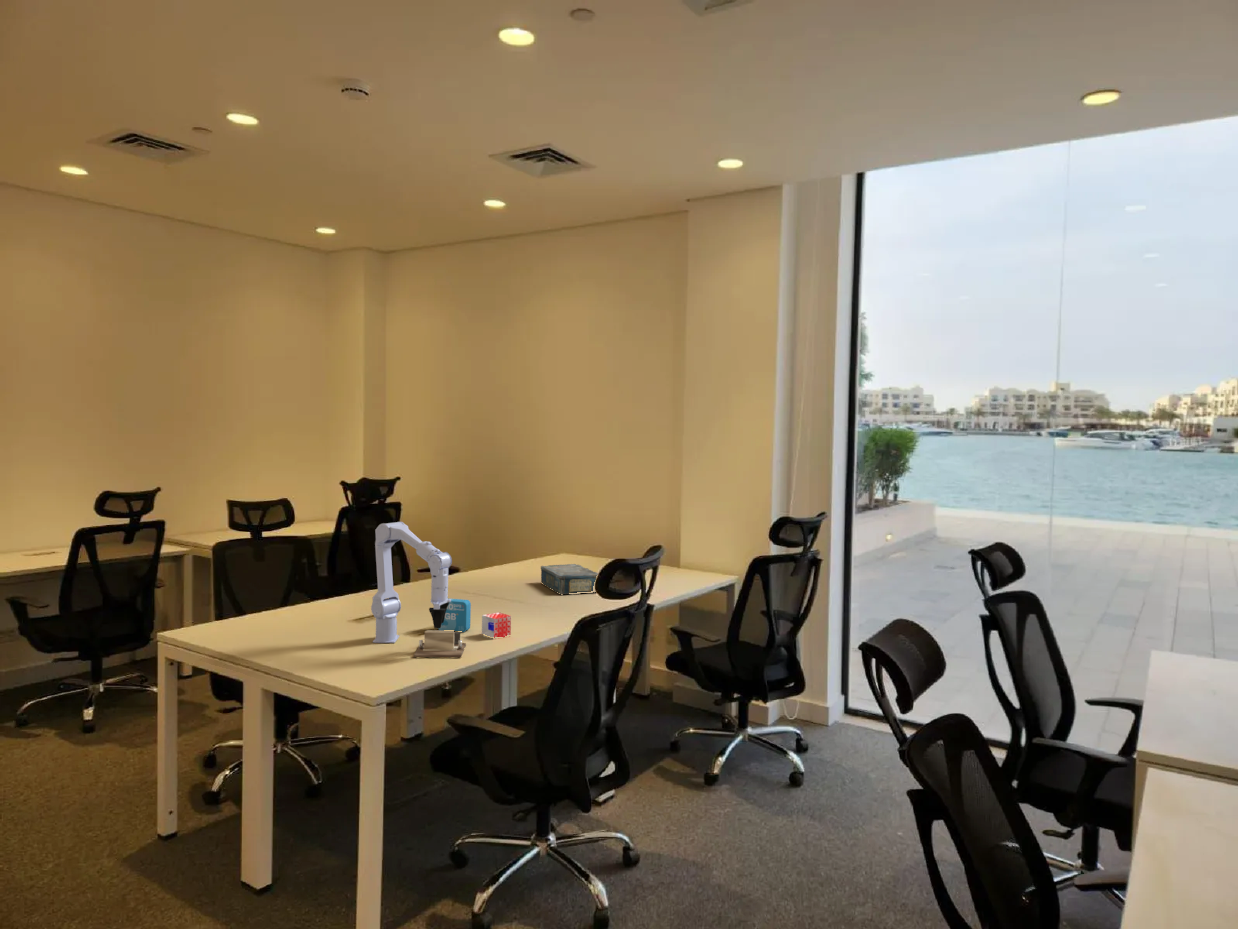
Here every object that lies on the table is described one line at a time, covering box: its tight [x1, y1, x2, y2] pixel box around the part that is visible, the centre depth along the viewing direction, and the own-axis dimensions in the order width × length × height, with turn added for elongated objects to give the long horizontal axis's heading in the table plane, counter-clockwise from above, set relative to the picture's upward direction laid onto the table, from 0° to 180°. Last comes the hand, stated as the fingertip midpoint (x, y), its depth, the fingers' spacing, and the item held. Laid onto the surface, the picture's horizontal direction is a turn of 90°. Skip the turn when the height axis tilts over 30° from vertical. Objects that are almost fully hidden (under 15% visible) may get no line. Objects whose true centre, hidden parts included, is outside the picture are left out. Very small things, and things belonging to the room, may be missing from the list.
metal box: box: [540, 563, 599, 594], centre depth 409 cm, size 21×32×10 cm, turn 23°
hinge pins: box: [418, 639, 463, 649], centre depth 288 cm, size 1×15×3 cm, turn 95°
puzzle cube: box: [481, 611, 512, 638], centre depth 312 cm, size 8×8×8 cm
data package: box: [437, 598, 472, 633], centre depth 319 cm, size 12×4×12 cm, turn 78°
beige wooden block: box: [423, 629, 454, 649], centre depth 288 cm, size 3×10×6 cm, turn 95°
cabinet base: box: [413, 632, 467, 658], centre depth 288 cm, size 16×16×5 cm
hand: (438, 625), depth 288 cm, fingers open, 7 cm apart
